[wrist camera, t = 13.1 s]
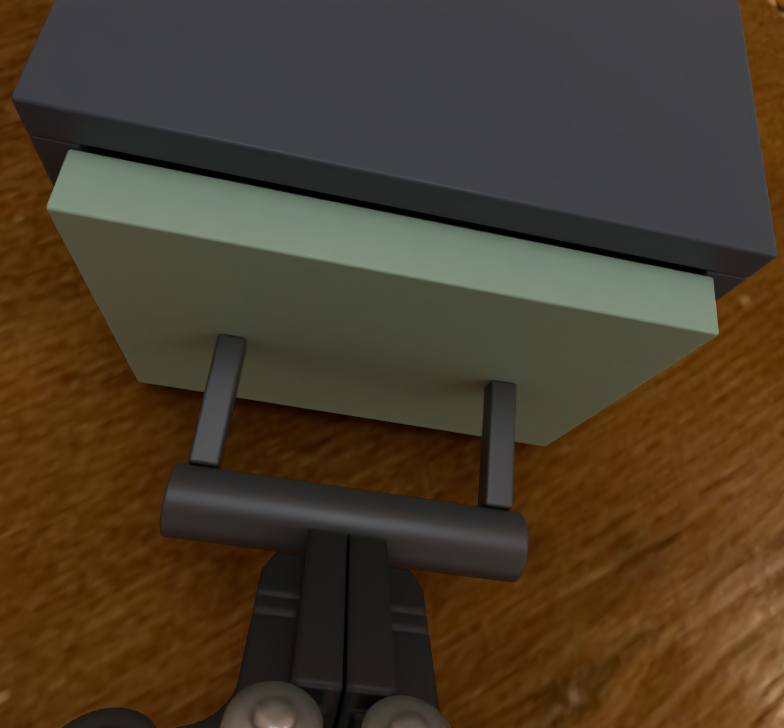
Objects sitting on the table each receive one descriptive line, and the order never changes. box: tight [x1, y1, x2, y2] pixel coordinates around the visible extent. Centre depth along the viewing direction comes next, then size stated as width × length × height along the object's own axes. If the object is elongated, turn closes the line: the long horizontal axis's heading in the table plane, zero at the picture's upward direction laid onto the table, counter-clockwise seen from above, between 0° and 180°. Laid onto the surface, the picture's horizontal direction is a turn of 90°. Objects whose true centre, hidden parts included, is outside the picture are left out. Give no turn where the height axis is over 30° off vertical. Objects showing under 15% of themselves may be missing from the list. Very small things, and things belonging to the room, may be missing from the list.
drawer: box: [46, 149, 719, 582], centre depth 16 cm, size 18×11×8 cm, turn 174°
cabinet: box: [12, 0, 777, 301], centre depth 18 cm, size 15×13×10 cm
